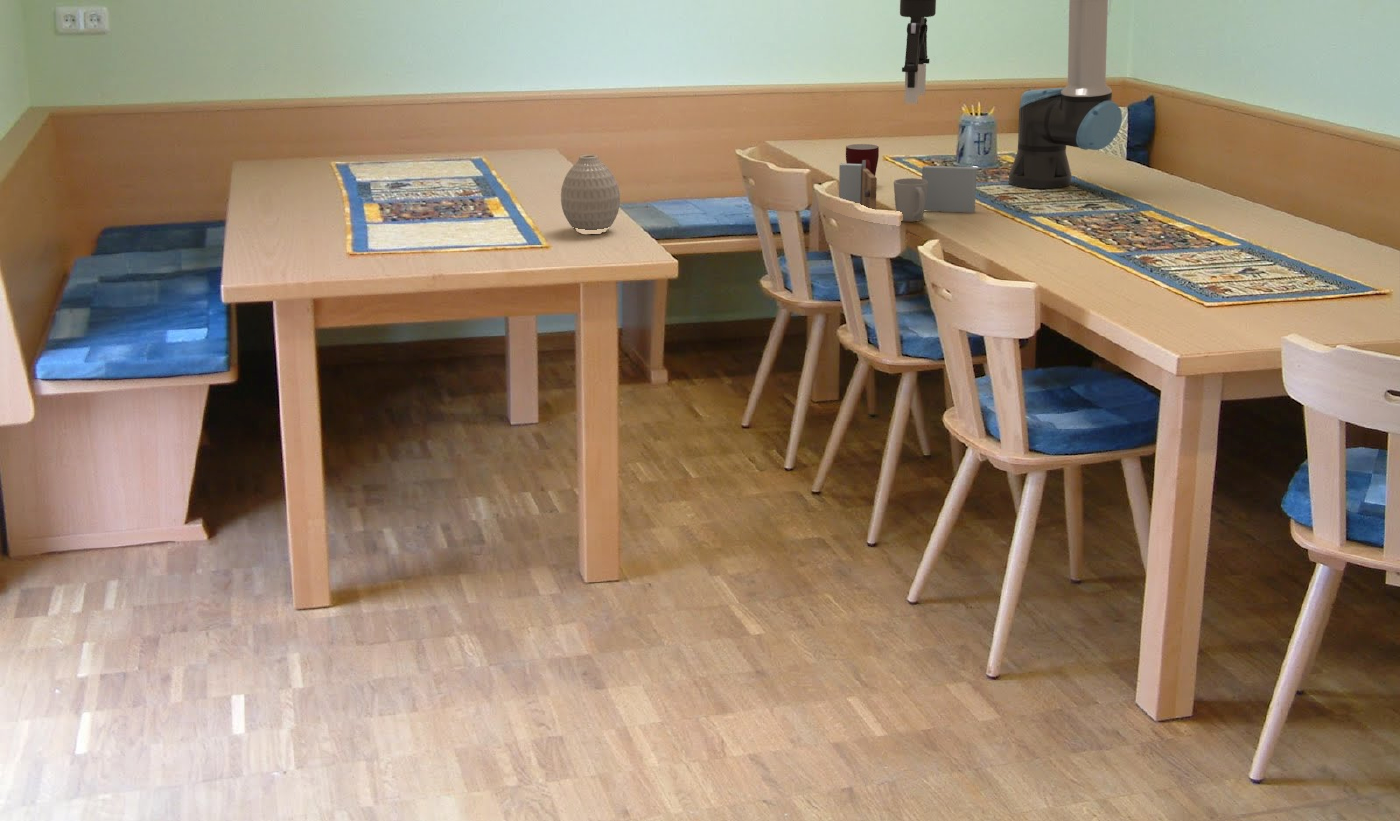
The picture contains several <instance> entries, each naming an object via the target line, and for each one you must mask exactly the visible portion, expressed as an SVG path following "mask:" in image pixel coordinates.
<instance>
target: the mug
mask: <svg viewBox="0 0 1400 821" xmlns="http://www.w3.org/2000/svg"><path fill="white" fill-rule="evenodd" d="M879 147H880V146H878V145H877V144H871V143H870V144H869V143H856V144H849V145H846V146H845V161H846V162H845V164H862V160H866V168H867V169H868V170H869V171H870V172H871V173H872V174H873V175H874V176H875V177H876V173H877V167H878V162H879V158H880V157H879V156H880V155H879V154H880V153H879V152H880V150H879V149H880V148H879Z"/></svg>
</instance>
